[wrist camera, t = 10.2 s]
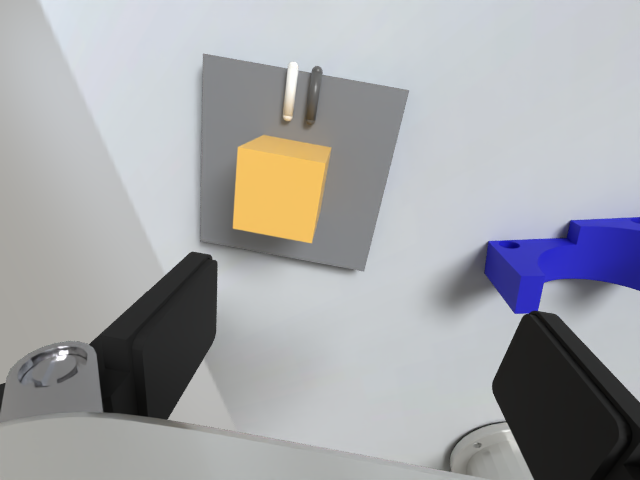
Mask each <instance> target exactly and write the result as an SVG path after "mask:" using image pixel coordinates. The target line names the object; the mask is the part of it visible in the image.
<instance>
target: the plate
mask: <svg viewBox="0 0 640 480" xmlns="http://www.w3.org/2000/svg"><path fill="white" fill-rule="evenodd" d="M298 69H299V67H298V64H297V63H296V62H291V63H289V65H288V69H286V68H281V67H275V66H270V65H264V64H258V63H253V62H247V61H242V60H236V59H230V58H225V57H219V56H214V55H208V54H203V87H202V156H201V225H200V241H203V242H208V243H214V244H219V245H225V246H230V247H235V248H241V249H246V250H251V251H257V252H262V253H268V254H273V255H278V256H284V257H289V258H295V259H300V260H305V261H311V262H316V263H321V264H327V265H332V266H338V267H343V268H348V269H354V270H359V271H364V269H365V265H366V261H367V257H368V253H369V249H370V245H371V241H372V237H373V233H374V229H375V225H376V221H377V217H378V213H379V209H380V205H381V201H382V197H383V193H384V189H385V185H386V181H387V177H388V173H389V169H390V165H391V161H392V157H393V153H394V149H395V145H396V141H397V137H398V133H399V129H400V125H401V121H402V117H403V113H404V109H405V105H406V101H407V97H408V93H409V90H404V89H399V88H393V87H388V86H382V85H376V84H371V83H365V82H359V81H354V80H348V79H343V78H337V77H331V76H326V75H322V69H321V67H319V66H315V67H314V68H313V69H312V73H309V72H303V71H298ZM262 135H267V136H272V137H278V138H283V139H288V140H294V141H299V142H305V143H310V144H315V145H321V146H326V147H332V148H331V153H330V159H329V165H328V170H327V176H326V182H325V187H324V193H323V199H322V204H321V210H320V214H319V218H318V222H317V226H316V229H315V233H314V237H313V241H312V243H307V242H302V241H296V240H291V239H286V238H281V237H275V236H270V235H265V234H259V233H254V232H249V231H243V230H238V229H233V216H234V200H235V184H236V168H237V152H238V147H239V146H241V145H243V144H245V143H247V142H250V141H252V140H254V139H256V138H258V137H260V136H262Z"/></svg>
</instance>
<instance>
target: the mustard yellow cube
mask: <svg viewBox="0 0 640 480" xmlns="http://www.w3.org/2000/svg"><path fill="white" fill-rule="evenodd" d="M331 148H332V147H326V146H321V145H315V144H310V143H305V142H299V141H294V140H288V139H283V138H278V137H272V136H267V135H262V136H260V137H258V138H256V139H254V140H252V141H250V142H247V143H245V144H243V145H241V146H239V147H238V152H237V168H236V184H235V200H234V216H233V229H238V230H243V231H249V232H254V233H259V234H265V235H270V236H275V237H281V238H286V239H291V240H296V241H302V242H307V243H312V241H313V237H314V233H315V229H316V226H317V222H318V218H319V214H320V210H321V204H322V199H323V193H324V187H325V182H326V176H327V170H328V165H329V159H330V153H331Z"/></svg>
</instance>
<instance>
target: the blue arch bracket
mask: <svg viewBox="0 0 640 480" xmlns="http://www.w3.org/2000/svg"><path fill="white" fill-rule="evenodd" d="M484 273H485V274H486V276H487V277H488V279H489V280H490V281H491V283H492V284H493V285H494V287H495V288H496V289H497V291H498V292H499V293H500V295H501V296H502V297H503V299H504V300H505V301H506V303H507V304H508V305H509V307H510V308H511V309H512V311H513V312H514V313H515V314H523V313H530V312H531V311H538V308H539V303H540V299H541V294H542V289H543V284H544V283H545V282H548V281H552V280H557V279H590V280H597V281H604V282H609V283H614V284H618V285H622V286H626V287H629V288H633V289H636V290H639V291H640V217H633V218H612V219H591V220H571V221H570V225H569V229H568V234H567V238H553V239H529V240H505V241H488V248H487V256H486V264H485V272H484Z"/></svg>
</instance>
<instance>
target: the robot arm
mask: <svg viewBox="0 0 640 480" xmlns="http://www.w3.org/2000/svg"><path fill="white" fill-rule="evenodd" d="M216 314H217V261H216V260H212V256H211V255H209V254H203V253H197V252H191V253H189V254H188V255H187V256H186V257H185V258H184V259H183V260H182V261H181V262H179V263H178V264H177V265H176V266H175V267H174V268H173V269H172V270H171V271H170V272H168V273H167V274H166V275H165V276H164V277H163V278H162V279H161V280H160V281H159V282H157V283H156V285H154V286H153V287H152V288H151V289H150V290H149V291H147V292H146V293H145V294H144V295H143V296H142V297H141V298H139V299H138V300H137V301H136V302H135V303H134V304H133V305H132V306H131V307H130V308H129V309H127V310H126V311H125V312H124V313H123V314H122V315H121V316H120V317H119V318H118V319H116V321H114V322H113V323H112V324H111V325H110V326H109V327H108V328H107V329H105V330H104V331H103V332H102V333H101V334H100V335H99V336H98V337H97V338H95V339H94V340H93V341H92V342H91V343H90V344H86V343H82V342H78V341H66V342H60V343H54V344H51V345H48V346H44V347H42V348H39V349H37V350H35V351H33V352H31V353H29V354H27V355H26V356H25V357H23V358H22V359H20V360H19V361H18V362H17V363H16V364H15V365H14V366H13V367H12V368H11V369H10V371H9V373H8V376H7V378H6V383H3V384H0V480H640V402H639V401H638V400H637V399H636V398H635V397H634V396H633V395H632V394H631V393H630V392H629V391H628V390H627V389H626V388H625V386H624V385H623V384H622V383H621V382H620V381H619V380H618V379H617V378H616V377H615V376H614V375H613V374H612V373H611V372H610V371H609V370H608V368H607V367H606V366H605V365H604V364H603V363H602V362H601V361H600V360H599V359H598V358H597V357H596V356H595V355H594V354H593V353H592V352H591V350H590V349H589V348H588V347H587V346H586V345H585V344H584V343H583V342H582V341H581V340H580V339H579V338H578V337H577V336H576V335H575V334H574V332H573V331H572V330H571V329H570V328H569V327H568V326H567V325H566V324H565V323H564V322H563V321H562V320H561V319H560V318H559V317H558V316H557V315H556V314H552V313H546V312H540V311H531V312H530V313H529V314H526V315H524V316H523V317H522V319H521V321H520V323H519V326H518V328H517V330H516V332H515V334H514V336H513V339H512V341H511V343H510V345H509V347H508V350H507V352H506V354H505V356H504V358H503V360H502V363H501V365H500V367H499V369H498V371H497V373H496V376H495V378H494V380H493V383H492V390H493V394H494V396H495V398H496V401H497V403H498V405H499V407H500V409H501V411H502V413H503V415H504V417H505V420H506V422H504V423H498V424H492V425H489V426H486V427H482V428H480V429H478V430H476V431H473V432H471V433H470V434H468V435H467V436H465V437H464V438H463V439H462V440H461V441H460V442H459V443H458V444H457V445H456V446H455V448H454V449H453V451H452V453H451V456H450V468H451V472H448V471H443V470H438V469H432V468H427V467H422V466H417V465H412V464H406V463H401V462H396V461H391V460H385V459H380V458H375V457H370V456H364V455H359V454H354V453H349V452H343V451H338V450H333V449H327V448H322V447H317V446H311V445H306V444H300V443H295V442H290V441H284V440H279V439H273V438H268V437H263V436H257V435H252V434H246V433H241V432H236V431H230V430H225V429H219V428H213V427H207V426H200V425H195V424H188V423H182V422H176V421H171V420H167V419H168V417H169V416H170V414H171V413H172V411H173V409H174V408H175V406H176V404H177V402H178V401H179V399H180V397H181V396H182V394H183V392H184V391H185V389H186V387H187V386H188V384H189V382H190V380H191V379H192V377H193V375H194V374H195V372H196V370H197V369H198V367H199V365H200V364H201V362H202V360H203V359H204V357H205V355H206V354H207V352H208V350H209V348H210V347H211V345H212V343H213V341H214V339H215V335H216Z"/></svg>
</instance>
